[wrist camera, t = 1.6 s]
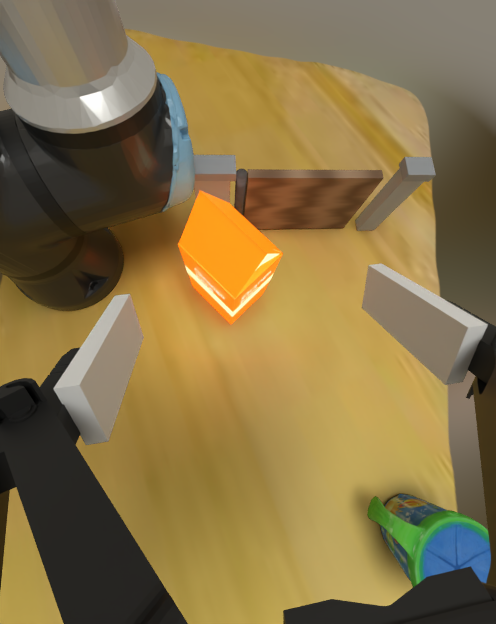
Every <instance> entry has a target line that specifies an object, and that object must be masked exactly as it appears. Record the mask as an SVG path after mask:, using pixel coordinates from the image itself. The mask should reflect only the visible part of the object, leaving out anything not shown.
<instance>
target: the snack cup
mask: <svg viewBox="0 0 496 624" xmlns="http://www.w3.org/2000/svg"><path fill="white" fill-rule="evenodd" d="M367 515H368V517H369V519H371V520H373V521H375V522H377V523H378V524H380V526H381V531H382V534H383V539H384V540H385V542H386V544H387V545H388V547H389V549H390V550H391V552H392V553H393V555H394V557H395V558H396V560H397V561H398V563H399V564H400V566H401V567H402V569H403V570H404V572H405V574H406V575H407V577H408V578H409V580H410V581H411V583H412V586H413V587H415V586H416V585H417V584H418V583H420V582H421V581H422V580H424V579H425V578H426V577H428V576H432V575H436V574H441V573H445V572H449V571H453V570H458V569H462V568H466V567H470V566H471V567H472V569H473V570H474V572H475V574H476V575H477V577H478V578H479V580H480V581H481V582H484V583H486V582H487V577H488V573H489V569H490V563H491V553H490V543H489V534H488V530H487V529H486V528H485V527H483V526H482V525H481V524H479V523H478V522H476V521H474V520H473V519H472V518H470V517H468V516H466V515H463V514H461V513H457V512H455V511H449V510H448V511H447V510H445V509H443V508H441V507H438V506H436V505H434V504H431V503H428V502H426V501H424V500H421V499H418V498H416V497H414V496H410V495H404V494H399V495H398V496H396V497H393V498H392V499H390V500H389V501H388V502H387V503H386V504H385V506H384V505H383V504H382V503H381V501H380V499H379V498H378V497H376V496H375V497H374V498H373V499H372V500H371V503H370V506H369V508H368V514H367Z"/></svg>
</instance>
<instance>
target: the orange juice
mask: <svg viewBox="0 0 496 624" xmlns="http://www.w3.org/2000/svg"><path fill="white" fill-rule="evenodd" d="M178 246H179V249H180V252H181V255H182V257H183V260H184V263H185V267H186V270H187V273H188V274H189V277H190V280H191V283H192V286H193V287H194V288H195V289H196V290H197V291H198V292H199V293H200V294H201V295H202V296H203V297H204V298H205V299H206V300H207V301H208V302H209V303H210V304H211V305H212V306H213V307H214V308H215V309H216V310H217V311H218V312H219V313H220V314H221V315H222V316H223V317H224V318H225V319H226V320H227V321H228V322H229V323H230V324H232V323H233V322H234V321H235V320H236V319H237V318H238V317H239V316H240V315H241V314H242V313H243V312H245V311H246V310H247V309H248V308H249V307H250V306H251V305H252V304H253V303H254V302H255V301H256V300H257V299H258V298H259V297H260V296H261V295H262V294H263V293H264V291H265V289H266V287H267V285H268V283H269V281H270V280H271V278H272V276H273V273H274V271H275V269H276V267H277V265H278V263H279V260H280V258H281V256H282V252H281V251H280V250H279V249H278V248H277V247H276V246H275V245H273V244H272V243H271V242H270V241H269V240H268V239H267V238H266V237H265V236H264V235H263V234H262V233H261V232H260V231H258V230H257V229H256V228H255V227H254V226H253V225H252V224H251V223H250V222H249V221H248V220H247V219H246V218H245V217H243V216H242V215H241V214H240V213H239V212H238V211H237V210H236V209H235V208H234V207H233V206H232V205H231V204H230V203H228V202H226V201H224V200H221V199H219V198H217V197H214V196H212V195H210V194H207V193H205V192H203V191H199V194H198V196H197V199H196V201H195V204H194V206H193V209H192V211H191V214H190V216H189V219H188V221H187V224H186V227H185V229H184V232H183V234H182V237H181V239H180V242H179V243H178Z"/></svg>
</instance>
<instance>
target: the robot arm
mask: <svg viewBox="0 0 496 624" xmlns="http://www.w3.org/2000/svg"><path fill="white" fill-rule="evenodd" d="M0 56H1V58H2V59H3V61H4V62H5V63H6V65H7V67H6V73H5V78H4V95H5V98H6V101H7V103H8V104H9V106H10V107H11V109H9V110H4V111H0V273H2V274H4V275H6V276H8V277H9V278H10V279H11V280H12V281H13V282H14V283H15V284H16V286H17V287H18V288H19V289H20V290H21V292H22V293H23V294H24V295H26V296H27V297H28V298H30V299H31V300H33V301H35V302H37V303H39V304H41V305H44V306H47V307H49V308H53V309H57V310H65V311H70V310H78V309H82V308H86V307H89V306H91V305H93V304H95V303H97V302H99V301H100V300H102V299H103V298H104V297H106V296H107V295H108V294H109V293H110V292H111V291H112V289H113V288H114V287H115V285H116V284H117V282H118V280H119V278H120V276H121V273H122V269H123V252H122V248H121V246H120V243H119V242H118V240H117V238H116V237H115V236H114V235H113V233H112V232H111V231H110V230H109V229H108V227H112V226H115V225H118V224H122V223H125V222H129V221H132V220H135V219H139V218H142V217H145V216H149V215H152V214H155V213H160V212H164V211H166V210H167V209H168V208H170V207H173V206H176V205H178V204H181V203H183V202H185V201H186V200H188V199H189V198H190V196H191V194H192V192H193V189H194V184H195V165H194V155H193V148H192V143H191V139H190V137H189V135H188V125H187V120H186V116H185V112H184V108H183V105H182V102H181V99H180V96H179V94H178V92H177V89H176V87H175V85H174V83H173V82H172V80H171V79H170V78H169V77H168V76H167V75H165V74H160V73H157V72H156V69H155V65H154V62H153V60H152V58H151V56H150V55H149V54H148V53H147V51H146V50H145V49H143V48H142V47H141V46H140V45H139V44H137V43H136V42H135V41H133V40H132V39H131V38H129V37H128V36H127V35H126V34H125V30H124V27H123V24H122V21H121V17H120V14H119V11H118V8H117V4H116V1H115V0H0ZM362 308H363V309H364V310H365V311H366V312H367V313H368V314H369V315H370V316H371V317H372V318H373V319H374V320H376V321H377V322H378V323H379V324H380V325H381V326H382V327H383V328H384V329H385V330H386V331H387V332H389V333H390V334H391V335H392V336H393V337H394V338H395V339H396V340H397V341H398V342H399V343H400V344H402V345H403V346H404V347H405V348H406V349H407V350H408V351H409V352H410V353H411V354H412V355H413V356H415V357H416V358H417V359H418V360H419V361H420V362H421V363H422V364H423V365H424V366H425V367H426V368H428V369H429V370H430V371H431V372H432V373H433V374H434V375H435V376H436V377H437V378H438V379H439V380H441V381H442V382H443V383H444V384H445V385H448V384H454V383H460V382H463V380H464V378H465V376H466V373H467V371H468V370H469V371H470V372H471V373H473V374H474V375H475V376H476V377H475V379H474V381H473V383H472V385H471V387H470V390H469V392H468V394H467V397H466V398H470V397H471V395H474V402H475V411H476V420H477V430H478V440H479V449H480V458H481V468H482V477H483V487H484V496H485V506H486V515H487V524H488V534H489V543H490V553H491V563H490V569H489V573H488V577H487V582H486V583H484V582H481V581H480V580H479V578H478V577H477V575H476V574H475V572H474V570H473V569H472V567H471V566H470V567H466V568H462V569H458V570H453V571H449V572H445V573H441V574H436V575H432V576H428V577H426V578H425V579H424V580H422V581H421V582H420V583H418V584H417V585H416V586H415V587H413V588H412V589H411V590H410V591H408V592H407V593H406V594H404V595H403V596H402V597H401V598H399V599H398V600H397V601H395V602H394V603H393V604H391V605H389V606H377V605H370V604H362V603H355V602H348V601H341V600H334V599H330V600H326V601H322V602H318V603H313V604H309V605H305V606H301V607H297V608H292V609H288V610H284V611H283V615H284V624H496V327H495V326H494V325H492V324H490V323H488V322H486V321H485V320H483V319H481V318H479V317H478V316H476V315H474V314H471V313H470V312H469V311H467V310H465V309H463V308H461V307H460V306H458V305H456V304H455V303H453V302H450V301H447V300H444V299H442V298H441V297H439V296H437V295H435V294H434V293H432V292H430V291H428V290H427V289H425V288H423V287H421V286H420V285H418V284H416V283H414V282H413V281H411V280H409V279H407V278H406V277H404V276H402V275H400V274H399V273H397V272H395V271H393V270H392V269H390V268H388V267H386V266H385V265H383V264H374V265H369V266H368V272H367V279H366V285H365V291H364V297H363V304H362ZM143 338H144V337H143V334H142V330H141V327H140V324H139V321H138V318H137V315H136V311H135V308H134V305H133V302H132V299H131V295H130V294H124V295H116V296H114V298H113V299H112V301H111V302H110V304H109V305H108V307H107V308H106V310H105V311H104V313H103V314H102V316H101V317H100V319H99V320H98V322H97V323H96V325H95V326H94V328H93V329H92V331H91V332H90V334H89V335H88V337H87V339H86V340H85V342H84V343H83V345H82V346H81V348H74V349H71V350H70V351H69V352H67V353H66V354H65V355H64V356H62V357H61V359H60V360H59V361H58V363H57V364H56V366H55V368H53V370H52V371H51V372H50V375H48V377H47V378H46V379H45V381H44V382H43V383H42V385H41V386H40V388H39V386H38V384H37V383H36V381H34V380H33V379H28V378H23V379H18V380H14V381H12V382H9V383H7V384H4V385H2V386H1V387H0V588H1V578H2V567H3V556H4V545H5V534H6V523H7V512H8V501H9V490H10V489H12V488H15V487H17V490H18V493H19V496H20V499H21V501H22V504H23V507H24V510H25V513H26V516H27V519H28V522H29V525H30V527H31V530H32V533H33V536H34V539H35V542H36V545H37V548H38V551H39V553H40V556H41V559H42V562H43V565H44V568H45V571H46V574H47V577H48V580H49V582H50V585H51V588H52V591H53V594H54V597H55V600H56V603H57V606H58V608H59V611H60V614H61V617H62V620H63V623H64V624H188V623H187V622H186V620H185V619H184V617H183V615H182V614H181V612H180V611H179V609H178V607H177V606H176V604H175V603H174V601H173V600H172V598H171V596H170V595H169V593H168V592H167V590H166V589H165V587H164V586H163V584H162V582H161V581H160V579H159V578H158V576H157V574H156V573H155V571H154V570H153V568H152V566H151V565H150V563H149V562H148V560H147V558H146V557H145V555H144V554H143V552H142V550H141V549H140V547H139V546H138V544H137V543H136V541H135V539H134V538H133V536H132V535H131V533H130V531H129V530H128V528H127V527H126V525H125V523H124V522H123V520H122V519H121V517H120V515H119V514H118V512H117V511H116V509H115V507H114V506H113V504H112V503H111V501H110V499H109V498H108V496H107V495H106V493H105V492H104V490H103V488H102V487H101V485H100V484H99V482H98V480H97V479H96V477H95V476H94V474H93V472H92V471H91V469H90V468H89V466H88V464H87V463H86V461H85V460H84V458H83V456H82V455H81V453H80V452H79V450H78V448H77V447H76V442H77V440H78V438H79V436H80V435H81V437H82V439H83V441H84V442H85V444H86V445H89V444H95V443H101V442H107V441H109V438H110V435H111V432H112V429H113V426H114V423H115V420H116V417H117V414H118V411H119V409H120V406H121V403H122V400H123V397H124V394H125V391H126V388H127V385H128V382H129V379H130V376H131V373H132V370H133V367H134V364H135V361H136V358H137V356H138V353H139V350H140V347H141V344H142V341H143Z"/></svg>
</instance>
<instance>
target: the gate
mask: <svg viewBox="0 0 496 624" xmlns="http://www.w3.org/2000/svg"><path fill="white" fill-rule="evenodd" d="M382 179H383V174H382V170H248V173H247V171H246V170H244V169H239V170H237V172H236V186H235V207H234V208H235V209H236V210H237V211H238V212H239V213H240V214H241V215H242V216H243V217H245V218H246V219H247V220H248V221H249V222H250V223H251V224H252V225H253V226H254V227H255V228H256V229H298V228H344V226H345V225H346V224H347V223H348V221H349V220H350V219H351V218H352V216H353V215H354V214H355V213H356V211H357V210H358V209H359V208H360V207H361V205H362V204H363V203H364V202H365V200H366V199H367V198H368V197H369V195H370V194H371V193H372V192H373V190H374V189H375V188H376V187H377V186H378V184H379V183H380V182H381V181H382ZM244 201H245V202H244Z"/></svg>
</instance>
